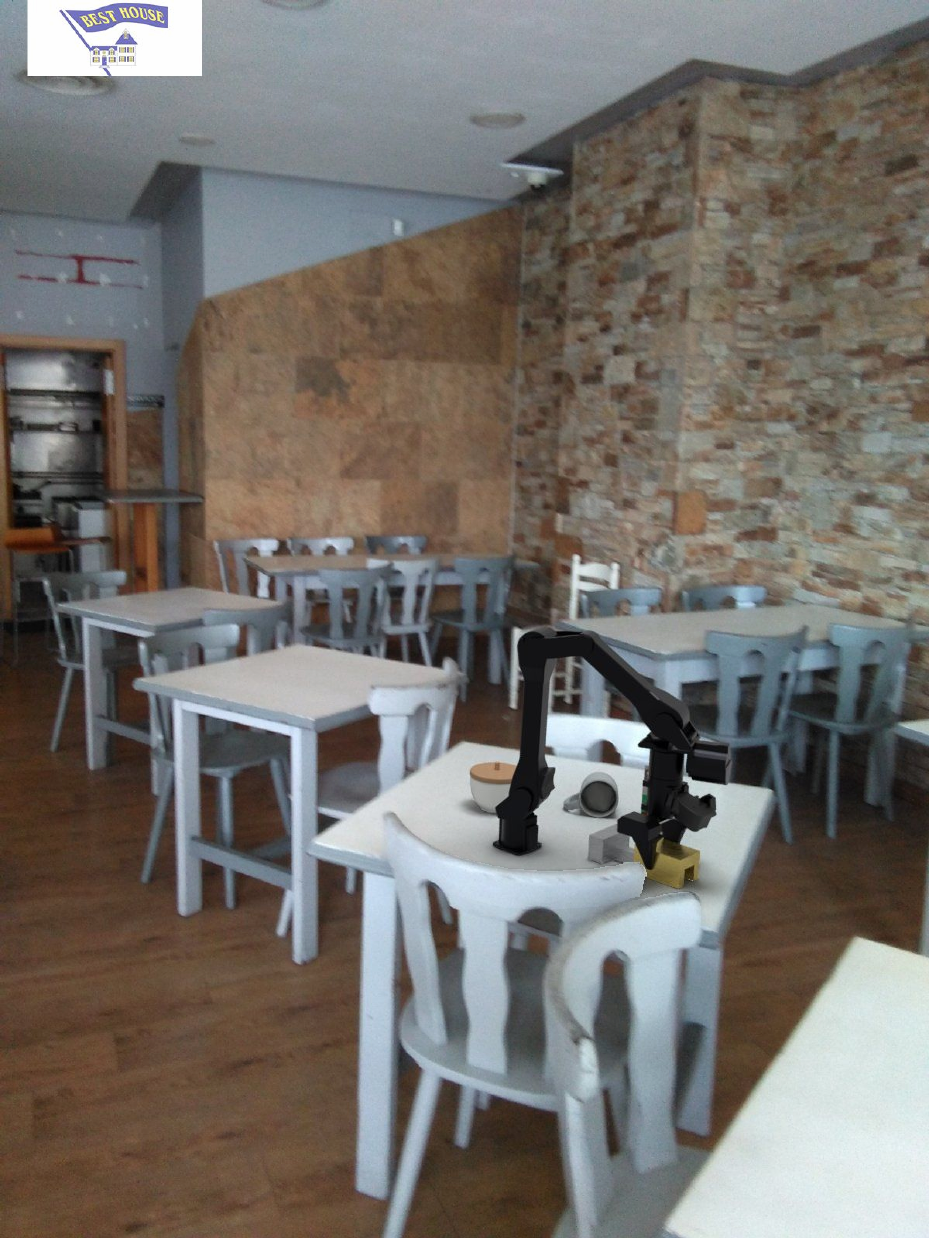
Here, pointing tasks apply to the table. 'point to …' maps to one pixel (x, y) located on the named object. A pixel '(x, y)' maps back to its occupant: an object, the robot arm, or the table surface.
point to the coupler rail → (610, 846)
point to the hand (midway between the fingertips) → (659, 864)
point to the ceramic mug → (595, 796)
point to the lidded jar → (490, 783)
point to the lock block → (672, 863)
